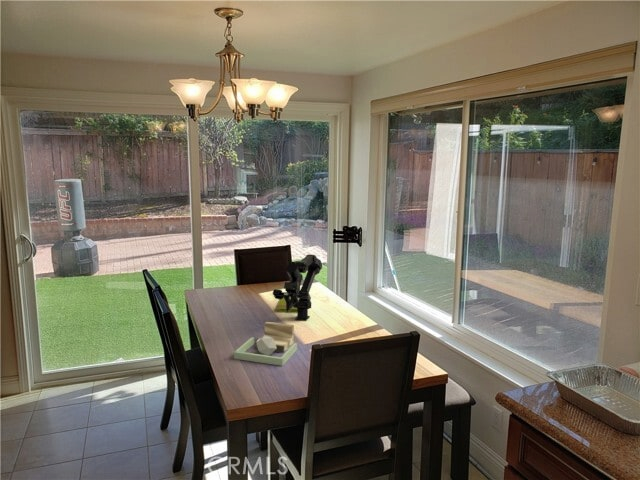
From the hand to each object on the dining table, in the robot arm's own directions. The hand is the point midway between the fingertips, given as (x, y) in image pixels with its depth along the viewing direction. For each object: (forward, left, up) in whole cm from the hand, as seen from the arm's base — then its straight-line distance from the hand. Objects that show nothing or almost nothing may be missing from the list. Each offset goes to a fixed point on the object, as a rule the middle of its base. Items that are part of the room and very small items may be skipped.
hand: (287, 310), depth 232 cm
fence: (+26, 0, -11) cm, 28 cm away
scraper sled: (+15, 0, -12) cm, 19 cm away
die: (+26, 0, -12) cm, 29 cm away
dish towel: (-46, -15, -12) cm, 50 cm away
